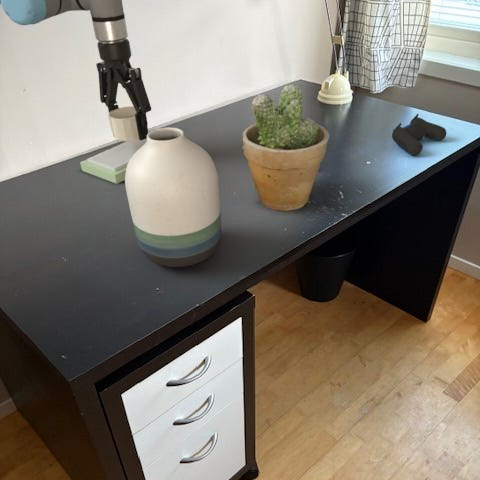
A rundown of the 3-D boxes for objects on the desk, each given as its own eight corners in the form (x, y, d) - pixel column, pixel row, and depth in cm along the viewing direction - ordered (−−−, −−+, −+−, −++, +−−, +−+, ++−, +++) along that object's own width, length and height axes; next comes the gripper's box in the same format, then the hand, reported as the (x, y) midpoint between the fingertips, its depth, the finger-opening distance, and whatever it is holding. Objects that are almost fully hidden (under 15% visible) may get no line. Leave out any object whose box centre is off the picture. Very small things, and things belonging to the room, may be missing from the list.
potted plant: (259, 177, 121) (258, 70, 104) (331, 187, 116) (342, 76, 99) (233, 212, 109) (227, 97, 92) (312, 224, 103) (321, 104, 86)
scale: (82, 170, 128) (79, 159, 126) (151, 139, 143) (149, 128, 141) (116, 184, 121) (114, 172, 119) (185, 149, 136) (184, 138, 134)
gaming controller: (437, 146, 137) (414, 121, 138) (451, 131, 132) (427, 105, 133) (406, 165, 129) (382, 138, 130) (420, 150, 124) (395, 122, 125)
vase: (135, 237, 102) (111, 123, 86) (212, 224, 105) (202, 111, 89) (146, 283, 90) (120, 160, 74) (232, 266, 93) (225, 145, 77)
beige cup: (106, 137, 127) (101, 114, 123) (132, 126, 133) (128, 104, 129) (130, 145, 123) (125, 121, 119) (156, 133, 128) (152, 110, 124)
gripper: (156, 41, 109) (170, 138, 124) (95, 32, 120) (114, 122, 135) (132, 48, 105) (149, 148, 120) (71, 38, 116) (93, 131, 131)
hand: (131, 134), depth 128 cm, fingers closed on beige cup, 9 cm apart
